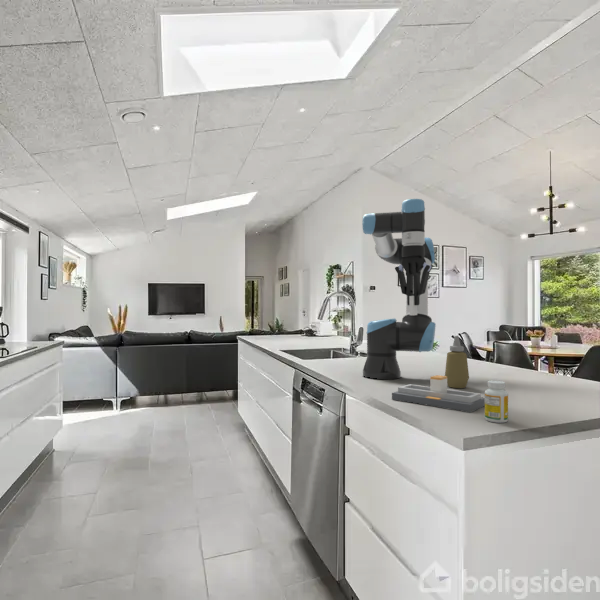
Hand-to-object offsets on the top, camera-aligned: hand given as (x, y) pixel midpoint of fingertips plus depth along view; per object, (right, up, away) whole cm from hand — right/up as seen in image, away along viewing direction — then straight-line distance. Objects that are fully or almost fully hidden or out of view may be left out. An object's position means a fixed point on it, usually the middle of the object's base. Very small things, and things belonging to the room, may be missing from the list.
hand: (413, 315), depth 150 cm
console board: (+2, -25, -19) cm, 32 cm away
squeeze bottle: (+17, -26, +6) cm, 31 cm away
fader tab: (+3, -23, -19) cm, 30 cm away
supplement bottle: (+10, -25, -40) cm, 48 cm away
